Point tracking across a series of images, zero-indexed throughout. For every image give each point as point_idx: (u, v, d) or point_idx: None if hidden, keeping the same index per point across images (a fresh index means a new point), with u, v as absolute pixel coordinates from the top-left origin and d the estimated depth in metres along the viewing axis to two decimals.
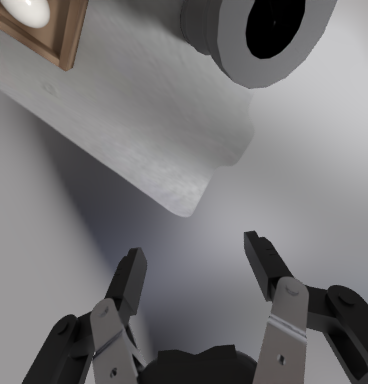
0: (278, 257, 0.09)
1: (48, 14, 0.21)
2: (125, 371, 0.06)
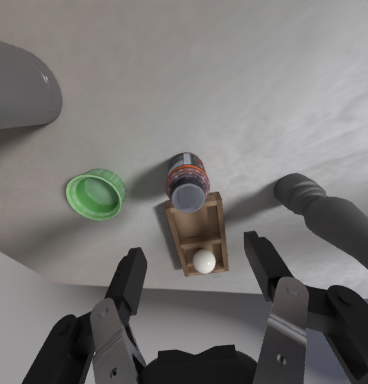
0: (278, 257, 0.09)
1: (214, 258, 0.35)
2: (125, 371, 0.06)
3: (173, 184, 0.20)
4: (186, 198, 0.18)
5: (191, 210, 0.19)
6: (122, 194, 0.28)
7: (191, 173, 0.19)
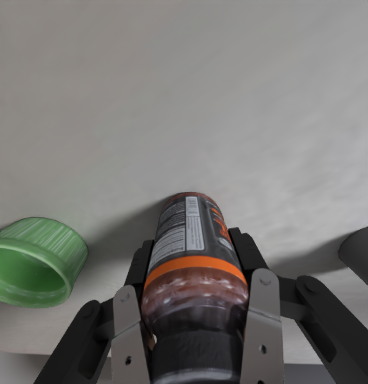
0: (257, 251, 0.10)
1: None
2: (139, 362, 0.06)
3: (158, 321, 0.07)
4: None
5: None
6: (75, 264, 0.15)
7: (208, 295, 0.07)
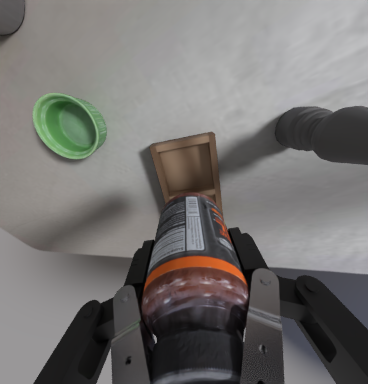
0: (257, 251, 0.10)
1: None
2: (139, 362, 0.06)
3: (158, 321, 0.07)
4: None
5: None
6: (100, 127, 0.24)
7: (208, 295, 0.07)
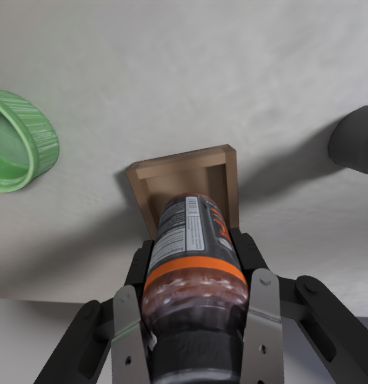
0: (257, 251, 0.10)
1: None
2: (139, 362, 0.06)
3: (158, 322, 0.07)
4: None
5: None
6: (39, 139, 0.14)
7: (208, 295, 0.07)
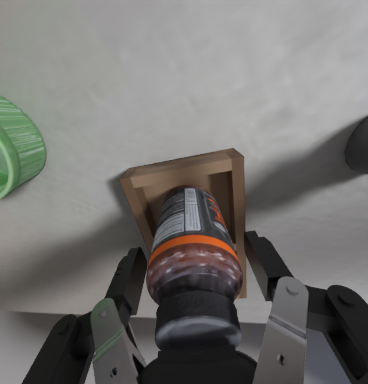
0: (278, 257, 0.09)
1: None
2: (125, 371, 0.06)
3: (161, 288, 0.08)
4: (193, 341, 0.07)
5: None
6: (21, 143, 0.13)
7: (203, 265, 0.08)
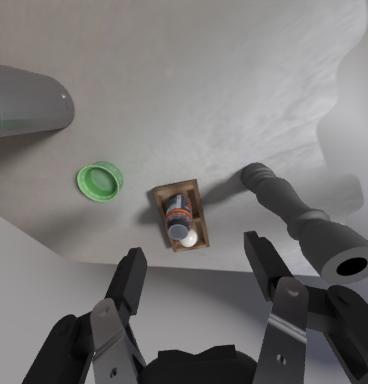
0: (278, 257, 0.09)
1: (196, 234, 0.42)
2: (125, 371, 0.06)
3: (169, 222, 0.32)
4: (176, 232, 0.30)
5: (180, 239, 0.31)
6: (119, 181, 0.36)
7: (180, 215, 0.31)
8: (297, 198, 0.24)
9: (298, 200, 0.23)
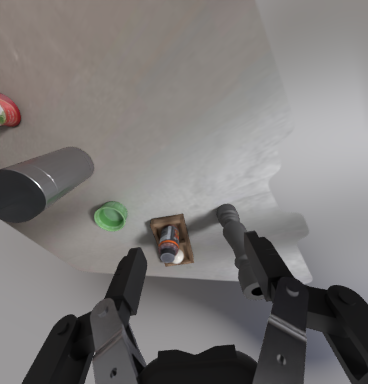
0: (278, 257, 0.09)
1: (183, 254, 0.55)
2: (125, 371, 0.06)
3: (161, 250, 0.44)
4: (166, 257, 0.43)
5: (169, 262, 0.44)
6: (125, 216, 0.48)
7: (169, 245, 0.44)
8: None
9: None
